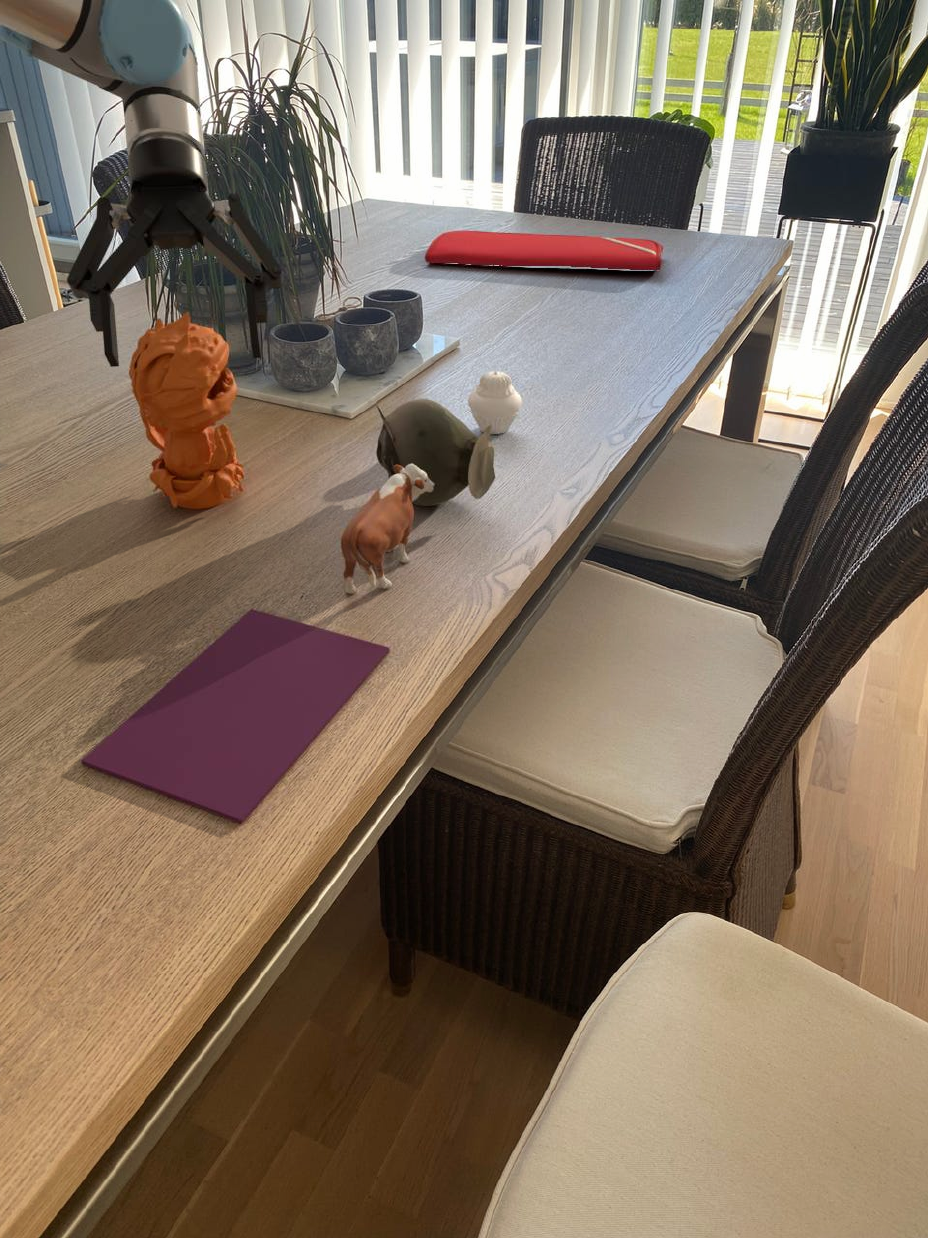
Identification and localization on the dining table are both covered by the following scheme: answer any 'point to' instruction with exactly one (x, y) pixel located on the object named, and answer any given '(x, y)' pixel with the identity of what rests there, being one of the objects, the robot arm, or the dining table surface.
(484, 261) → the dish drying mat
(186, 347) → the orange character figurine
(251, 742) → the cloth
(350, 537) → the bull figurine
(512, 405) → the muffin
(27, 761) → the dining table surface
